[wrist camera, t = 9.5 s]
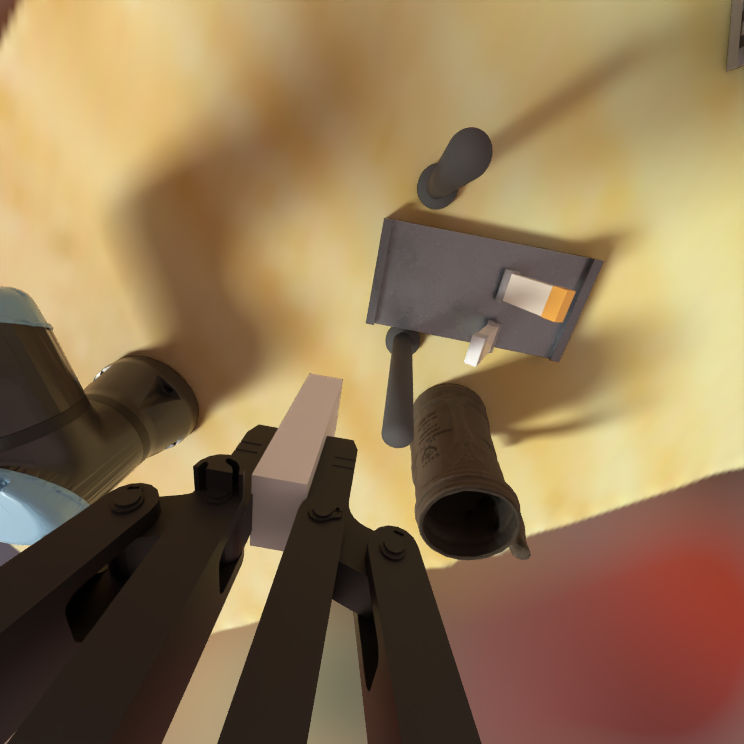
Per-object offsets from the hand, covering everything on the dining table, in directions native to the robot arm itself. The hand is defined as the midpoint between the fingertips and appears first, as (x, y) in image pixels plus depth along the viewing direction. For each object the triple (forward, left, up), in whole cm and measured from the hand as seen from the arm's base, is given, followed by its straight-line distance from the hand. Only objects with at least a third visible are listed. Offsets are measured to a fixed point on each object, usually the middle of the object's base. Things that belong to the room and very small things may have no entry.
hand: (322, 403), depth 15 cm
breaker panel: (+12, +2, -30) cm, 32 cm away
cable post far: (+5, -6, -30) cm, 31 cm away
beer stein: (+16, -17, -30) cm, 38 cm away
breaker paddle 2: (+15, +3, -27) cm, 31 cm away
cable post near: (+5, +12, -30) cm, 33 cm away
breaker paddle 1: (+15, -3, -27) cm, 31 cm away
